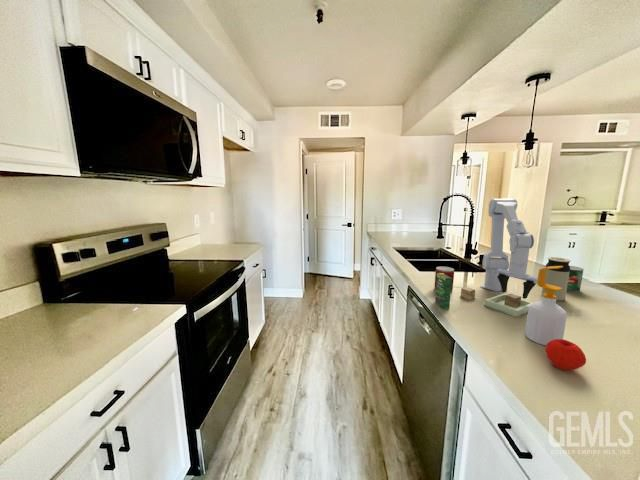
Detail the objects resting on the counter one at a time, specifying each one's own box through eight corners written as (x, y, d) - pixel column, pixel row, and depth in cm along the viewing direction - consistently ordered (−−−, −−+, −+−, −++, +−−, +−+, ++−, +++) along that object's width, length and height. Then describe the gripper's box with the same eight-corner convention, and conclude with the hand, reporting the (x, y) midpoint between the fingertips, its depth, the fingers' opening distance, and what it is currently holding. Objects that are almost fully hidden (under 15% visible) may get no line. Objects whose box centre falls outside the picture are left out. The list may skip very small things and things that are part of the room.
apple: (592, 376, 67) (597, 350, 65) (563, 378, 66) (568, 351, 65) (561, 357, 74) (565, 333, 73) (535, 358, 74) (539, 334, 73)
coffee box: (434, 301, 114) (436, 272, 112) (440, 301, 114) (443, 272, 112) (442, 309, 106) (445, 278, 104) (449, 309, 106) (452, 278, 104)
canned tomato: (577, 288, 129) (581, 267, 127) (582, 293, 123) (586, 270, 121) (556, 285, 133) (559, 264, 131) (559, 290, 127) (563, 268, 125)
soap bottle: (553, 350, 78) (566, 271, 74) (519, 336, 86) (529, 263, 81) (567, 342, 82) (580, 267, 78) (533, 329, 90) (543, 260, 86)
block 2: (509, 302, 111) (510, 293, 110) (520, 305, 108) (521, 296, 107) (504, 304, 109) (505, 295, 108) (515, 307, 106) (516, 298, 105)
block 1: (466, 295, 121) (466, 286, 120) (474, 297, 118) (475, 289, 117) (460, 296, 119) (461, 288, 118) (469, 299, 116) (470, 291, 115)
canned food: (455, 293, 123) (457, 270, 121) (438, 293, 123) (440, 270, 121) (447, 287, 131) (449, 266, 129) (431, 287, 131) (433, 266, 129)
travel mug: (545, 299, 115) (551, 260, 112) (538, 293, 123) (544, 256, 120) (568, 302, 112) (575, 261, 109) (559, 295, 120) (566, 257, 117)
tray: (502, 299, 116) (503, 293, 115) (534, 309, 105) (535, 303, 105) (484, 305, 109) (484, 299, 109) (516, 317, 99) (517, 310, 98)
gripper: (493, 260, 110) (490, 291, 112) (534, 268, 97) (529, 303, 100) (503, 258, 113) (499, 288, 116) (543, 266, 101) (538, 299, 103)
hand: (514, 294), depth 108 cm, fingers open, 7 cm apart
